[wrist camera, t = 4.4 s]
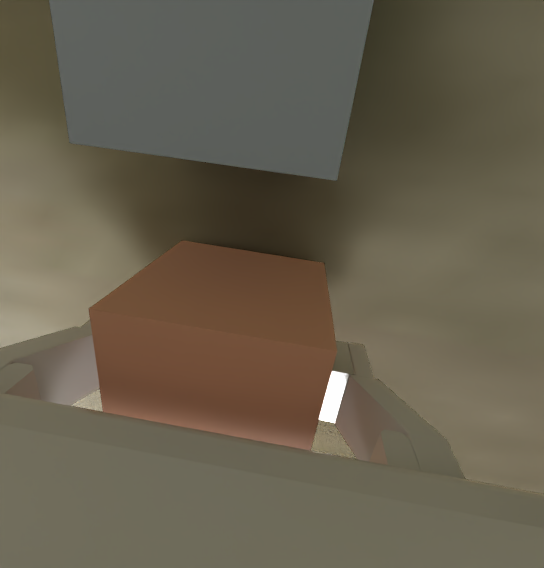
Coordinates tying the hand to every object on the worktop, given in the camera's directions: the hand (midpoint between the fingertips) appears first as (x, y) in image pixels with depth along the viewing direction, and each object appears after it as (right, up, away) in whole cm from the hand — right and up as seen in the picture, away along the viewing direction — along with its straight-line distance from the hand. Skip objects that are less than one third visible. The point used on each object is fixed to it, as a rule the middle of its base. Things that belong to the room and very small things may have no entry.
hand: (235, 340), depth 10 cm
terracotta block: (0, +1, +2) cm, 2 cm away
